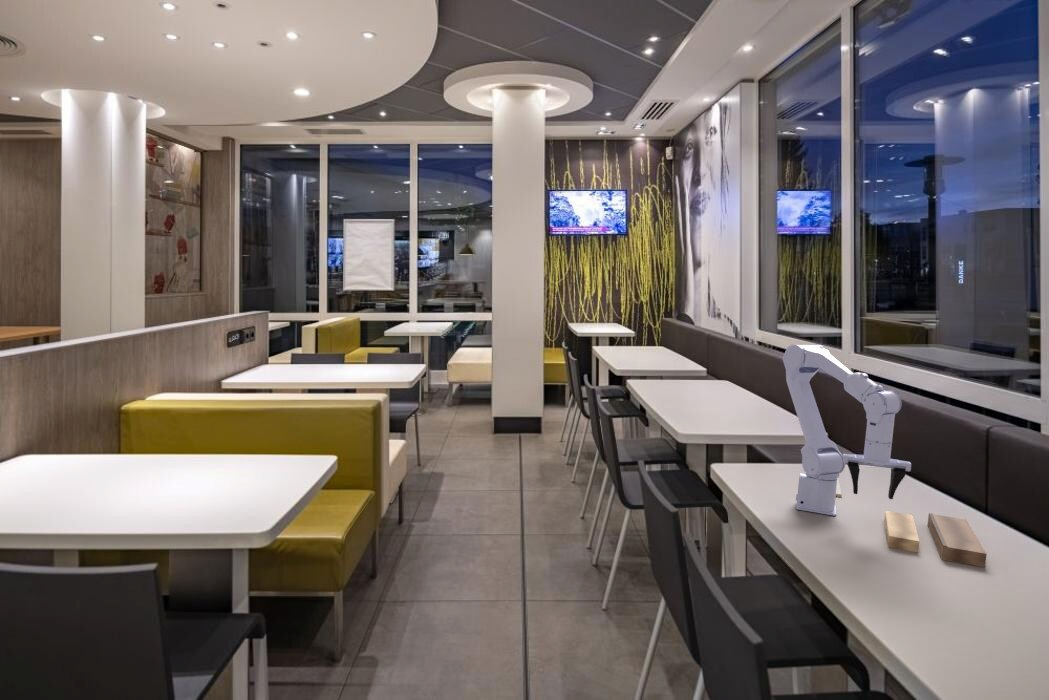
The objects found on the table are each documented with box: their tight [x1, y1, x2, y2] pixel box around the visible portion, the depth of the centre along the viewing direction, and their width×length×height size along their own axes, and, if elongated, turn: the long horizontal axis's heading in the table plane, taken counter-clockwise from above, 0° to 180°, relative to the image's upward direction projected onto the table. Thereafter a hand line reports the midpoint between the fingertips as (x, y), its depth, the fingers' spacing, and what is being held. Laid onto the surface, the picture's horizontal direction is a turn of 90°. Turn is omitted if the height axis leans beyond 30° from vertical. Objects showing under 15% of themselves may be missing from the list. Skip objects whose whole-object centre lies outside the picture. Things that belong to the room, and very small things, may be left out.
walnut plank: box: [927, 512, 987, 568], centre depth 157 cm, size 8×24×3 cm, turn 156°
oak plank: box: [884, 510, 920, 553], centre depth 161 cm, size 6×20×3 cm, turn 154°
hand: (872, 495), depth 164 cm, fingers open, 7 cm apart
